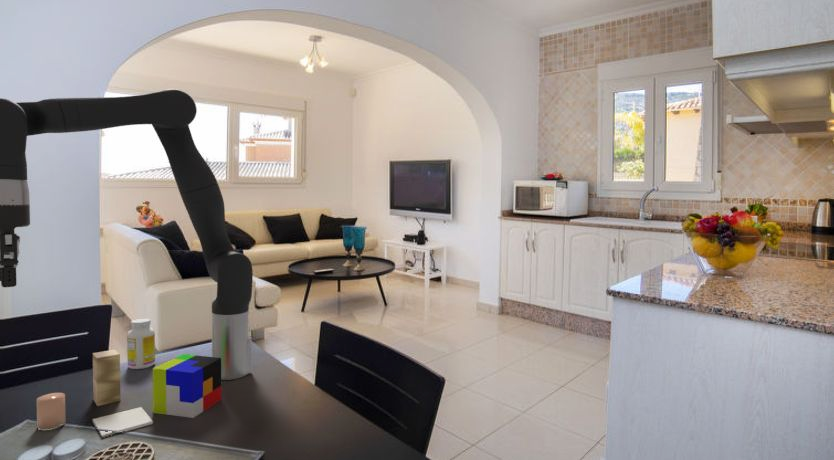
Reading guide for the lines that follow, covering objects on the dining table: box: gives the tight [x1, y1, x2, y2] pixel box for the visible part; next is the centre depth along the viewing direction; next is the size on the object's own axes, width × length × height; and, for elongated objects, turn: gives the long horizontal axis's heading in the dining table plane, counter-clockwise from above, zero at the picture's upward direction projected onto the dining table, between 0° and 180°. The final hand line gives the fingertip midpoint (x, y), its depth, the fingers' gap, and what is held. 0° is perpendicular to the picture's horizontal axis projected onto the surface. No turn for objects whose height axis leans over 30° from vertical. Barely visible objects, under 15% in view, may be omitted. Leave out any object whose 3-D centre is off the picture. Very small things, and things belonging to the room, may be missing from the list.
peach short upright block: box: [36, 392, 67, 429], centre depth 97 cm, size 5×5×6 cm
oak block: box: [92, 349, 121, 407], centre depth 110 cm, size 4×4×11 cm
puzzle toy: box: [152, 353, 222, 419], centre depth 108 cm, size 10×10×10 cm
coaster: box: [92, 406, 154, 436], centre depth 99 cm, size 9×9×1 cm
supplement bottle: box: [126, 318, 156, 370], centre depth 132 cm, size 7×7×13 cm
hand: (7, 283), depth 95 cm, fingers open, 8 cm apart
